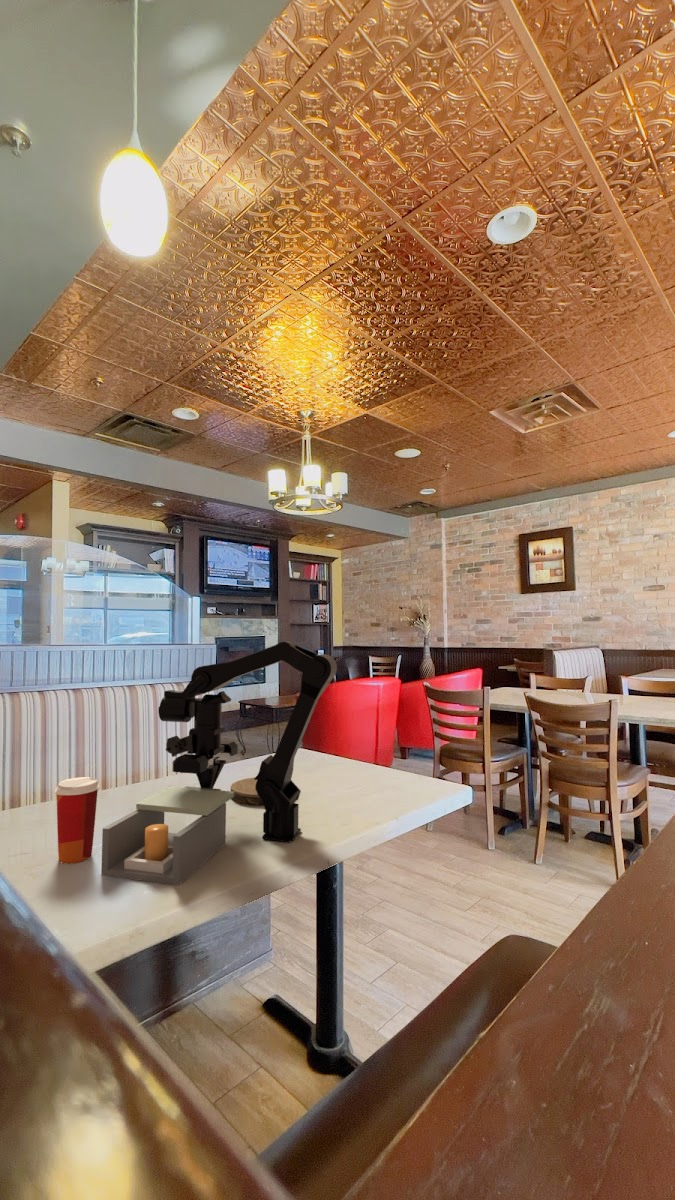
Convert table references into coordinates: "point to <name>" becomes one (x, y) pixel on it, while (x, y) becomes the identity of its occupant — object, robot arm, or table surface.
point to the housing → (184, 848)
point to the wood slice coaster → (246, 793)
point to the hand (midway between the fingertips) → (206, 796)
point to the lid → (186, 800)
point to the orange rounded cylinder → (156, 842)
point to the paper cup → (76, 818)
